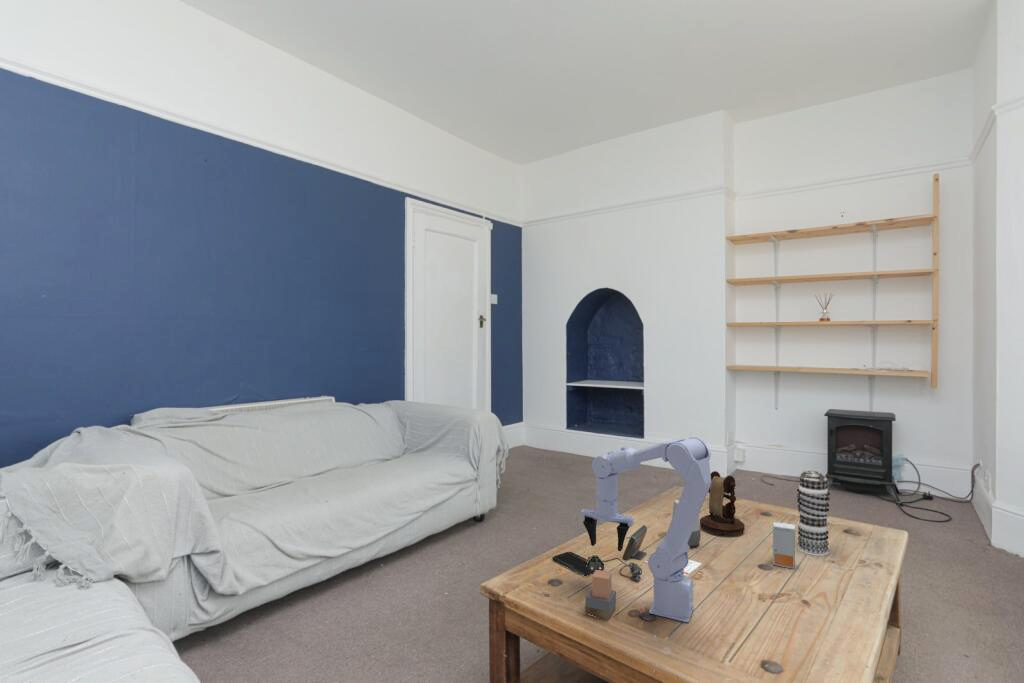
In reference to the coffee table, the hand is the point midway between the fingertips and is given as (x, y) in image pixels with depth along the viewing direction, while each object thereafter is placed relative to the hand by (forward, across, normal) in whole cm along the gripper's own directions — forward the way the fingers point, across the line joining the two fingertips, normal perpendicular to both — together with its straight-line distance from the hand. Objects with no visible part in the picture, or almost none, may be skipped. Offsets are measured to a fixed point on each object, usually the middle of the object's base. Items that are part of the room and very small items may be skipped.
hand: (606, 547), depth 146 cm
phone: (+11, -12, +8) cm, 18 cm away
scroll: (+11, +23, +59) cm, 64 cm away
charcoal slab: (+8, +3, -15) cm, 17 cm away
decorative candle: (+11, +51, +53) cm, 74 cm away
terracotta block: (+6, +4, -15) cm, 16 cm away
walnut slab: (+11, +3, -14) cm, 18 cm away
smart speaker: (+11, +14, +40) cm, 44 cm away
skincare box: (+11, +43, +37) cm, 58 cm away
